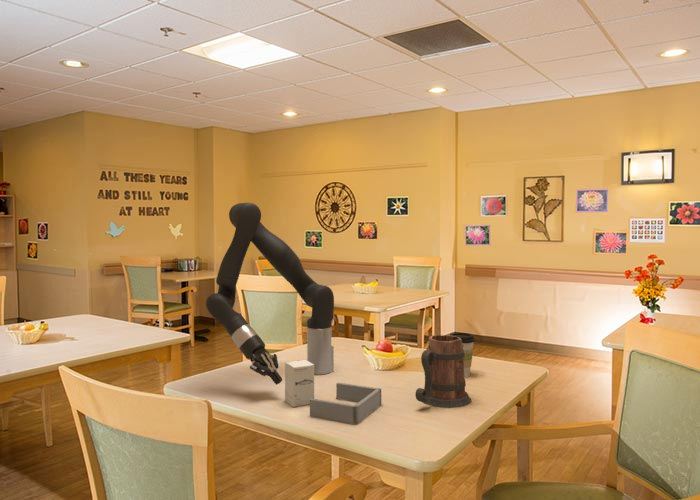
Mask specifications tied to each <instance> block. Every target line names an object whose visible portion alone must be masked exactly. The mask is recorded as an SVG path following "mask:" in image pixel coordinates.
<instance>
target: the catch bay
mask: <svg viewBox="0 0 700 500" xmlns="http://www.w3.org/2000/svg"><path fill="white" fill-rule="evenodd" d="M335 389H336V399H337V400H341V401H349V402H355V403H356V404H349V403H342V402H336V401H331V400H325V399H324V400H323V399H318V398H314V399H313V398H312V399H310V404H309V416H310V417H312V418H318V419H322V420H323V419H324V420H329V421H334V422H340V423H346V424H350V425H356V426H357V425H358V424H360V423H361V422H362V421H363V420H364V419H365V418H367V417H368V416H369V415H370V414H372V413H373V412H374V411H375V410H376V409H379V407H380V406H382V388H380V387H379V388H378V387H373V386H365V385H359V384H358V385H357V384H351V383H345V382H339V381H338V382H336V388H335Z"/></svg>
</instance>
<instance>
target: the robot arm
mask: <svg viewBox="0 0 700 500" xmlns="http://www.w3.org/2000/svg"><path fill="white" fill-rule="evenodd" d="M259 207H260V206H258V205H257V204H255V203H253V202H240V203H236V204H234V205H232V206H231V208H230V209H229V211H228V212H229V213H228V218H229V221H230V223H231V224H232V226H233V227H234V228H235V231H234V234H233V238H232V240H231V243H230V245H229V247H228V248H227V250H226V252H225V254H224V256H223V257H222V259H221V260H222V261H221V262H220V266H219V269H218V272H217V274H216V280H215V281H216V282H215V283H216V284H217V286H218V291H217V292H215V293H211V294H210V295H208V296H207V298H206V301H205V307H206V310H207V311H208V313H209V314H210V315H211V316H212V317H213V318H214V319H215V320H216V321H217V323H219V324H220V325H221V326H222V327H223V328H224V329H225V331H226V332H227V334H228V335H229V336H230V337H231V339H232V341H233V342H234V344H235V345H236V347H237V348H238V349H239V350H240V352H241V353H242V355H243V356H244V357H245V358H246V359H247V360H250V362H251V365H250V366H249V368H250V370H252V371H254V372H255V373H257V374H259V375H261V376H263V377H266V376H267V377H269V378H270V379H271V381H272V382H273V383H274V384H275V385H280V384H281V383H282V382H283V378H282V376H281V375H280V374H279V372H278V371H277V370H278V369H279V363H278V362H279V361H278V357H277V356H278V355H277V354H276V353H273V354H270V352H269V351H268V350H267V349H266V344H265V342H264V341H263V339H262V338H261V336H260V335H259V334H258V333H257V332H256V330H255V329H254V328H253V327H252V326H251V325H250V324H249V323H248V321H247V320H246V318H244V316H243V315H242V314H241V313H240V312H237V311H236V310H234V306H235V302H236V295H237V294H236V293H237V284H238V280H239V277H240V274H241V270H242V267H243V264H244V261H245V257H246V255H247V252H248V249H249V248H250V244H251V243H252V244H253V245H254V246H255V247H256V249H257V250H258V251H259V252H260V253H261V255H262V256H263V257H264V258H265V259H266V260H267V261H268V263H269V264H270V265H271V266H272V267H273V268H274V269H275V270H276V271H277V272H278V274H280V275H281V276H282V277H283V278H284V279H285V280H286V281H287V282H288V283H289V284H290V285H291V286H292V288H293V289H295V291H296V292H297V294H298V295H299V296H300V298H301V299H302V301H303V302H304V303H305V304H306V306H308V307H310V308H311V317H310V318H308V319H307V321H306V339H307V340H306V348H307V349H306V351H307V352H306V353H307V354H306V357H307V358H306V360H307V361H309V362H310V363H312V364H314V375H317V376H318V375H328V374H330V373H331V372H334V371H335V370H334V369H335V368H334V366H335V363H334V361H335V359H334V356H335V355H334V353H335V352H334V351H335V350H334V348H335V347H334V346H333V345H332V322H333V319H334V313H335V312H334V311H335V310H334V309H335V295H334V292H333V290H332V289H331V287H329V286H327V285H323V284H319V283H317V282H316V281H315V280H313V278H311V277H310V275H308V273H307V272H306V271H305V269H304V267H303V264H302V262H301V260H300V257H299V256H298V255H297V254H296V252H295V251H294V250H293V249H292V248H291V246H290V245H288V244H287V243H286V241H284V240H283V239H281V238H280V237H279V236H277V235H276V234H274V233H273V232H271V231H270V230H269V229H268V228H266V227H265V225H263V223H262V222H261V219H262V212H261V209H260V208H259Z"/></svg>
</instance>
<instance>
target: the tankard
mask: <svg viewBox="0 0 700 500" xmlns="http://www.w3.org/2000/svg"><path fill="white" fill-rule="evenodd" d="M429 336H430V335H429ZM428 340H429V341H428V346H427V348H426V349H425V350H424V351H422V353H421V356H420V359H421V366H422V369H423V372H424V387H423V388H422V387H419V388H416V391H415V399H416V400H417V401H418V402H419V403H420V402H421V403H423V404H425V405H426V406H430V407H435V408H440V409H458V408H463V407H466V406H469V405H470V404H472V398H471V397H470V395H469V394H468V392H466V378H465V377H464V350H463V345H462V339H461V338H459V337H457V336H451V335H450V334H449V335H448V334H445V335H444V334H443V335H441V334H435V335H431V336H430V337H429V339H428Z"/></svg>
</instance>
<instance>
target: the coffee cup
mask: <svg viewBox="0 0 700 500" xmlns="http://www.w3.org/2000/svg"><path fill="white" fill-rule="evenodd" d="M449 335H451V336H457V337H459V338H461V339H462V345H463V350H464V378H467V377H470V373H471V367H472V363H473V356H474V355H473V354H474V342H476V339H475V337H474V335H473V334H472V333H467V332H452V333H450V334H449Z"/></svg>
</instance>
